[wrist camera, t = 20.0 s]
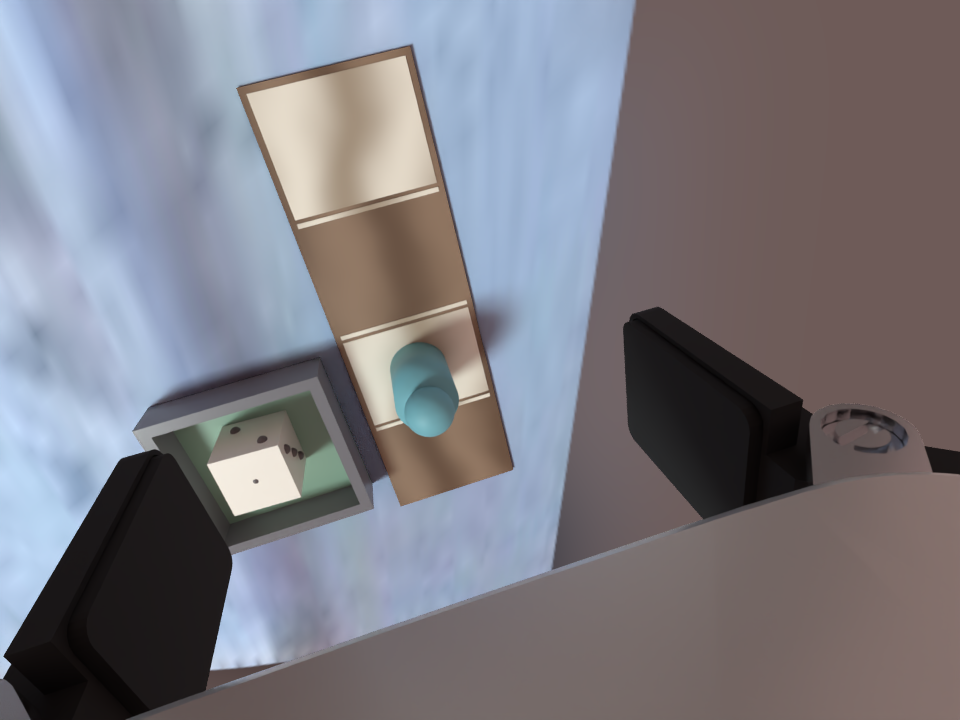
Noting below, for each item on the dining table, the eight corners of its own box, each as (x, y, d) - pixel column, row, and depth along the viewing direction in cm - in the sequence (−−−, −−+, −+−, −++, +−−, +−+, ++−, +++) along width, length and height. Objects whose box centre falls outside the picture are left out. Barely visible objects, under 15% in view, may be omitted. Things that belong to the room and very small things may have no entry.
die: (246, 474, 39) (234, 516, 35) (220, 423, 37) (204, 461, 33) (310, 457, 40) (305, 496, 36) (288, 405, 38) (280, 440, 34)
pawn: (392, 396, 39) (401, 458, 32) (387, 345, 37) (395, 399, 30) (447, 389, 40) (467, 448, 33) (445, 339, 38) (465, 390, 31)
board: (400, 504, 44) (400, 506, 44) (237, 88, 29) (236, 88, 29) (512, 468, 45) (513, 469, 45) (409, 46, 30) (410, 46, 30)
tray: (225, 530, 42) (217, 559, 39) (148, 407, 36) (132, 431, 33) (372, 483, 43) (373, 508, 40) (319, 357, 37) (317, 376, 34)
